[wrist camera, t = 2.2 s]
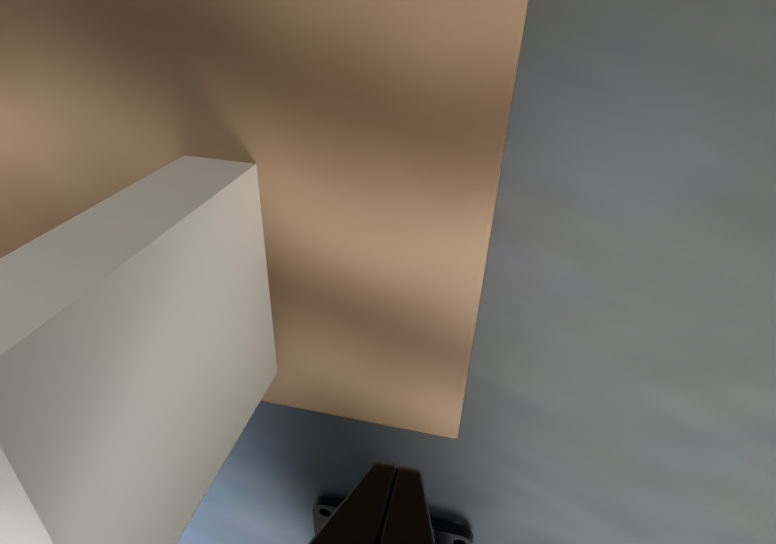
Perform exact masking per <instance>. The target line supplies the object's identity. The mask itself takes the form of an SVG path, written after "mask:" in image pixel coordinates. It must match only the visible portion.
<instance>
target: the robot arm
mask: <svg viewBox="0 0 776 544" xmlns="http://www.w3.org/2000/svg"><path fill="white" fill-rule="evenodd" d="M313 515H314V530H315V536H314V538H313V539H312V540H311V541H310V542H309V544H473V533H472V532H471V531H470V530H469V529H467V528H465V527H462V526H458V525H453V524H449V523H444V522H440V521H435V520H431V519H430V515H429V510H428V505H427V499H426V494H425V489H424V484H423V479H422V474H421V472H420V470H418V469H414V468H409V467H405V466H401V467H399V468H397V466H396V465H394V464H390V463H385V462H381V461H377V462H375V463H374V464H373V465H372V466H371V467H370V468H369V470H368V471H367V472H366V473H365V475H364V476H363V477H362V478H361V480H360V481H359V482H358V483H357V484H356V486H355V487H354V488H353V489H352V491H351V492H350V493H349V494H348V496H347V497H346V498H345V499H344V500H341V499H337V498H332V497H328V496H321V497H319V498H317V500H316V503H315V506H314V509H313Z"/></svg>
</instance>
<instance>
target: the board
mask: <svg viewBox="0 0 776 544" xmlns="http://www.w3.org/2000/svg"><path fill="white" fill-rule="evenodd" d="M527 5H528V0H0V258H2V257H4V256H6V255H7V254H9V253H11V252H13V251H14V250H16V249H18V248H20V247H22V246H23V245H25V244H27V243H29V242H30V241H32V240H34V239H36V238H38V237H39V236H41V235H43V234H45V233H47V232H48V231H50V230H52V229H54V228H55V227H57V226H59V225H61V224H63V223H64V222H66V221H68V220H70V219H71V218H73V217H75V216H77V215H79V214H80V213H82V212H84V211H86V210H88V209H89V208H91V207H93V206H95V205H96V204H98V203H100V202H102V201H104V200H105V199H107V198H109V197H111V196H112V195H114V194H116V193H118V192H120V191H121V190H123V189H125V188H127V187H129V186H130V185H132V184H134V183H136V182H137V181H139V180H141V179H143V178H145V177H146V176H148V175H150V174H152V173H154V172H155V171H157V170H159V169H161V168H162V167H164V166H166V165H168V164H170V163H171V162H173V161H175V160H177V159H178V158H180V157H182V156H184V155H185V156H194V157H202V158H211V159H220V160H228V161H237V162H246V163H254V164H256V165H257V175H258V185H259V195H260V205H261V214H262V224H263V234H264V244H265V253H266V263H267V273H268V283H269V292H270V302H271V312H272V322H273V332H274V341H275V351H276V361H277V371H278V372H277V374H276V375H275V377H274V379H273V380H272V382H271V384H270V385H269V387H268V389H267V390H266V392H265V394H264V396H263V397H262V399H261V401H265V402H270V403H275V404H280V405H285V406H290V407H295V408H301V409H306V410H311V411H316V412H321V413H326V414H331V415H336V416H341V417H346V418H352V419H357V420H362V421H367V422H372V423H377V424H382V425H387V426H392V427H397V428H402V429H408V430H413V431H418V432H423V433H428V434H433V435H438V436H443V437H448V438H453V439H457V437H458V430H459V424H460V418H461V412H462V406H463V400H464V393H465V387H466V381H467V375H468V369H469V363H470V356H471V350H472V344H473V338H474V332H475V326H476V319H477V313H478V307H479V301H480V295H481V289H482V282H483V276H484V270H485V264H486V258H487V252H488V245H489V239H490V233H491V227H492V221H493V215H494V208H495V202H496V196H497V190H498V184H499V178H500V171H501V165H502V159H503V153H504V147H505V141H506V135H507V128H508V122H509V116H510V110H511V104H512V98H513V91H514V85H515V79H516V73H517V67H518V61H519V54H520V48H521V42H522V36H523V30H524V24H525V17H526V11H527Z"/></svg>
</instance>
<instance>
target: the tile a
mask: <svg viewBox="0 0 776 544" xmlns="http://www.w3.org/2000/svg"><path fill="white" fill-rule="evenodd" d="M277 372H278V371H277V361H276V351H275V341H274V332H273V322H272V312H271V302H270V292H269V283H268V273H267V263H266V253H265V244H264V234H263V224H262V214H261V205H260V195H259V185H258V175H257V165H256V164H254V163H246V162H237V161H228V160H220V159H211V158H202V157H194V156H185V155H184V156H182V157H180V158H178V159H177V160H175V161H173V162H171V163H170V164H168V165H166V166H164V167H162V168H161V169H159V170H157V171H155V172H154V173H152V174H150V175H148V176H146V177H145V178H143V179H141V180H139V181H137V182H136V183H134V184H132V185H130V186H129V187H127V188H125V189H123V190H121V191H120V192H118V193H116V194H114V195H112V196H111V197H109V198H107V199H105V200H104V201H102V202H100V203H98V204H96V205H95V206H93V207H91V208H89V209H88V210H86V211H84V212H82V213H80V214H79V215H77V216H75V217H73V218H71V219H70V220H68V221H66V222H64V223H63V224H61V225H59V226H57V227H55V228H54V229H52V230H50V231H48V232H47V233H45V234H43V235H41V236H39V237H38V238H36V239H34V240H32V241H30V242H29V243H27V244H25V245H23V246H22V247H20V248H18V249H16V250H14V251H13V252H11V253H9V254H7V255H6V256H4V257H2V258H0V544H176V543H177V541H178V540H179V538H180V536H181V534H182V533H183V531H184V529H185V528H186V526H187V524H188V523H189V521H190V519H191V518H192V516H193V514H194V512H195V511H196V509H197V507H198V506H199V504H200V502H201V501H202V499H203V497H204V496H205V494H206V492H207V490H208V489H209V487H210V485H211V484H212V482H213V480H214V479H215V477H216V475H217V473H218V472H219V470H220V468H221V467H222V465H223V463H224V462H225V460H226V458H227V457H228V455H229V453H230V451H231V450H232V448H233V446H234V445H235V443H236V441H237V440H238V438H239V436H240V435H241V433H242V431H243V429H244V428H245V426H246V424H247V423H248V421H249V419H250V418H251V416H252V414H253V413H254V411H255V409H256V407H257V406H258V404H259V402H260V401H261V399H262V397H263V396H264V394H265V392H266V390H267V389H268V387H269V385H270V384H271V382H272V380H273V379H274V377H275V375H276V374H277Z"/></svg>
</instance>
